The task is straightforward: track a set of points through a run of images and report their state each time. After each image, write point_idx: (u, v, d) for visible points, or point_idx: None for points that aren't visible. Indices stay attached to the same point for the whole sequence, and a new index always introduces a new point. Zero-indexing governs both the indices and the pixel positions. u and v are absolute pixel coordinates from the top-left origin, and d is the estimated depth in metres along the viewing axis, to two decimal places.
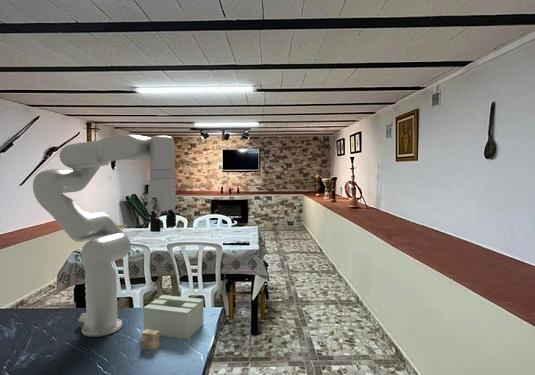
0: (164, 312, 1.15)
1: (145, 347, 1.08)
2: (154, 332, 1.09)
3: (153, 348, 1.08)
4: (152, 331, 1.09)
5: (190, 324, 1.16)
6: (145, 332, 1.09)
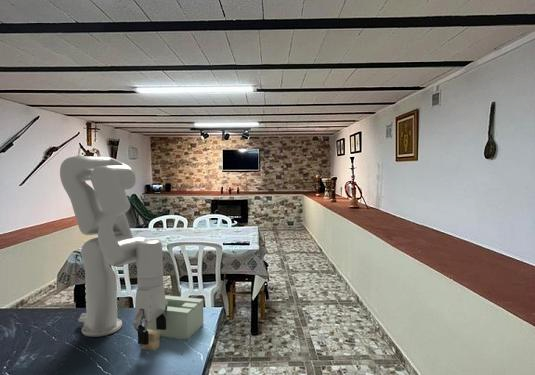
0: None
1: (145, 347, 1.08)
2: (154, 332, 1.09)
3: (153, 348, 1.08)
4: (152, 331, 1.09)
5: (190, 324, 1.16)
6: None
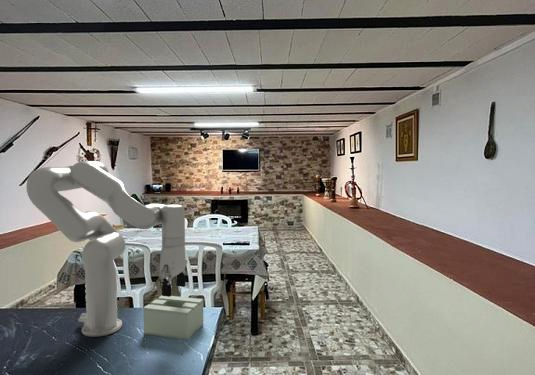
0: (164, 312, 1.15)
1: None
2: None
3: None
4: None
5: (190, 324, 1.16)
6: None
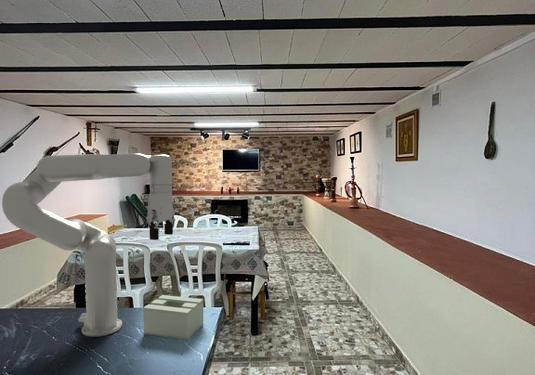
0: (164, 312, 1.15)
1: None
2: None
3: None
4: None
5: (190, 324, 1.16)
6: None
